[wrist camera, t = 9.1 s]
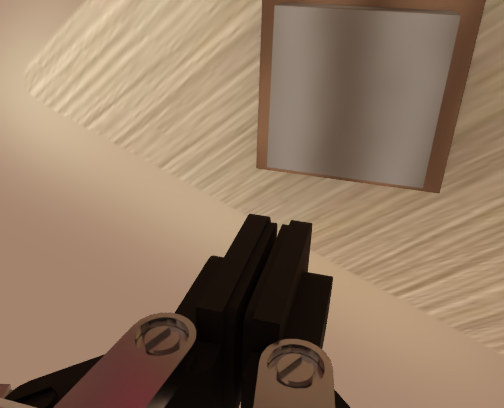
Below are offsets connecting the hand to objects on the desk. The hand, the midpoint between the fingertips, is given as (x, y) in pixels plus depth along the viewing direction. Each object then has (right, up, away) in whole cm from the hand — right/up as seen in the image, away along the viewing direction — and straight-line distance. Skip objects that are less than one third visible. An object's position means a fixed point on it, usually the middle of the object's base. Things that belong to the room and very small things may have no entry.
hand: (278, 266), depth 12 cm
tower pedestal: (+6, +10, +19) cm, 22 cm away
